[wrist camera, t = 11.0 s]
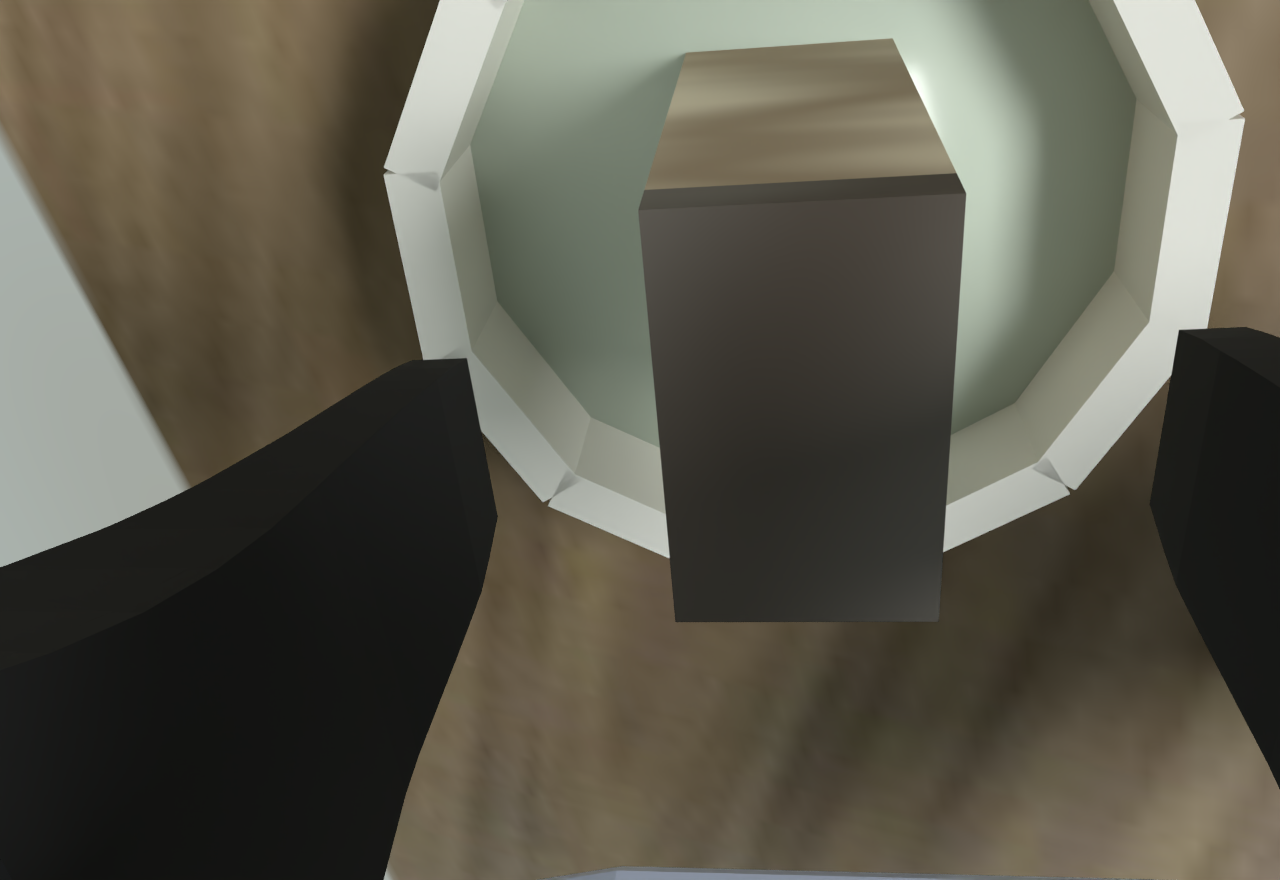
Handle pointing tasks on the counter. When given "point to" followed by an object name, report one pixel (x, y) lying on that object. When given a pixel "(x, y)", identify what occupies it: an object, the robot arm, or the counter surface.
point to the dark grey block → (803, 334)
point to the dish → (992, 245)
